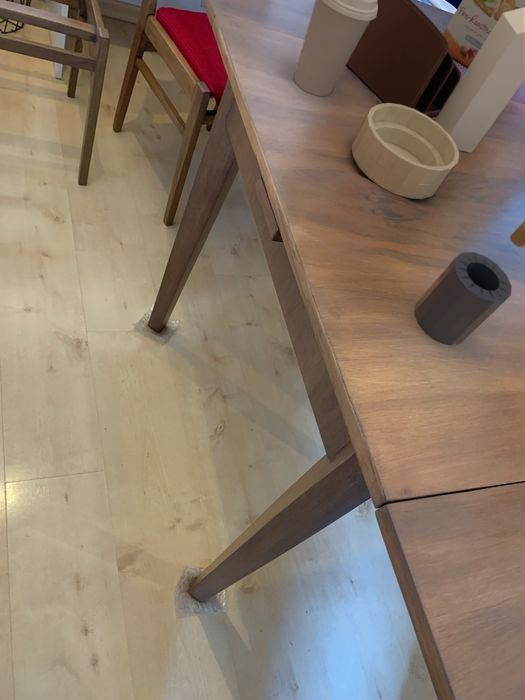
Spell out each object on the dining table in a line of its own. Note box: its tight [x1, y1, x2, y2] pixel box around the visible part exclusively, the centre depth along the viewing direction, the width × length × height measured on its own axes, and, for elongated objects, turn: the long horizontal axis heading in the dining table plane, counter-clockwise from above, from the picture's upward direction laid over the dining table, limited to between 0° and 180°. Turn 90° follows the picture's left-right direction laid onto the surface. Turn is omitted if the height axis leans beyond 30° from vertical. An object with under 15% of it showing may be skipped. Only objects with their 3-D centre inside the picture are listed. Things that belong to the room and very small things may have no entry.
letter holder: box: [346, 0, 462, 118], centre depth 93 cm, size 10×20×14 cm, turn 36°
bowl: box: [351, 102, 460, 200], centre depth 81 cm, size 14×14×6 cm
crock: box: [414, 251, 512, 346], centre depth 64 cm, size 7×7×9 cm
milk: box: [434, 7, 525, 154], centre depth 86 cm, size 6×6×22 cm
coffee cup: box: [293, 0, 378, 97], centre depth 85 cm, size 10×10×15 cm
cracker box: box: [442, 0, 525, 68], centre depth 107 cm, size 14×6×21 cm, turn 55°
